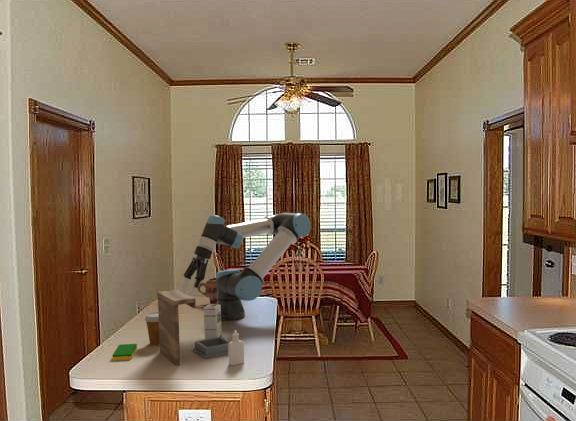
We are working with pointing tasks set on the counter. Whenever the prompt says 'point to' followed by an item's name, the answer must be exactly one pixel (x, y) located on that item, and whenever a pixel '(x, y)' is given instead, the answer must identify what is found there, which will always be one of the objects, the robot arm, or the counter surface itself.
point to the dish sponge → (124, 352)
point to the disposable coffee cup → (153, 327)
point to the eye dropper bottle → (235, 350)
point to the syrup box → (212, 321)
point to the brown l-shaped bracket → (171, 322)
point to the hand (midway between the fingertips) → (186, 293)
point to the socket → (211, 347)
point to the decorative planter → (210, 290)
